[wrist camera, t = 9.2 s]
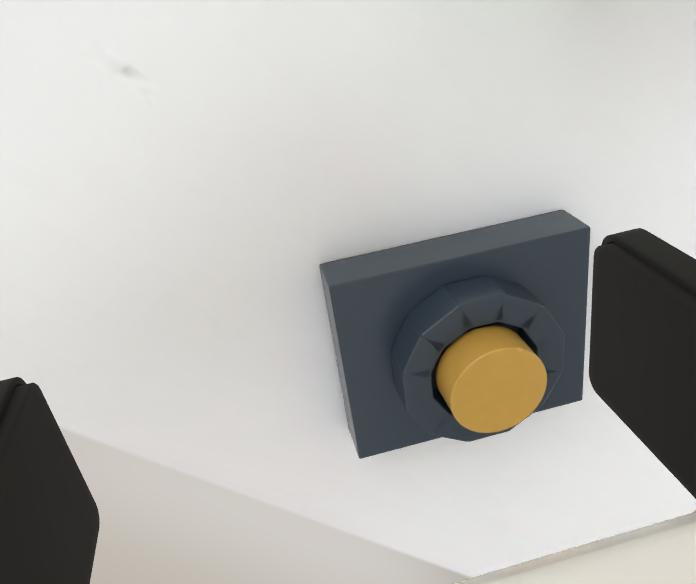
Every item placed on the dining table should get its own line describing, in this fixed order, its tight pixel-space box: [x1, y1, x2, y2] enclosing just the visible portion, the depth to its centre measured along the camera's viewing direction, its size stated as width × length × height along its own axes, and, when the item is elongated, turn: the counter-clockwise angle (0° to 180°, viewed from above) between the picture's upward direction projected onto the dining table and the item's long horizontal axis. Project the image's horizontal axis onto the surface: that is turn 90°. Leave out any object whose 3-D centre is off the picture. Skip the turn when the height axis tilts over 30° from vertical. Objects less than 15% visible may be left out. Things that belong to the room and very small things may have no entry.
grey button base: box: [320, 210, 590, 459], centre depth 27 cm, size 11×9×4 cm
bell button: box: [436, 326, 547, 433], centre depth 25 cm, size 4×4×2 cm
